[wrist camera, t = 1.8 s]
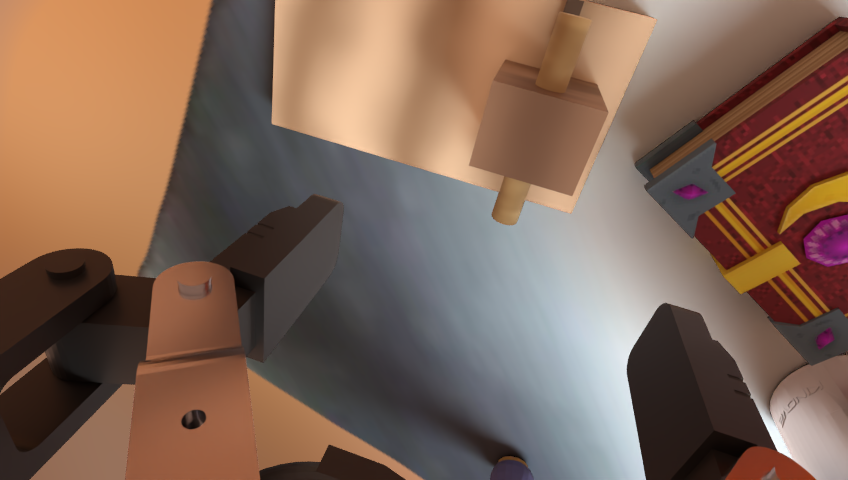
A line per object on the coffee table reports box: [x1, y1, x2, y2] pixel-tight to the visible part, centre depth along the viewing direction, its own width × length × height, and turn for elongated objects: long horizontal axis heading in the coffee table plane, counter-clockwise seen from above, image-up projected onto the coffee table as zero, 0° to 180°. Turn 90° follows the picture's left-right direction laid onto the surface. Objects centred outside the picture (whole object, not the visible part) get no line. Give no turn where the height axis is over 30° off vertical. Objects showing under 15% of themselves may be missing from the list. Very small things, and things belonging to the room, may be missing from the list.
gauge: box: [469, 12, 609, 225], centre depth 23 cm, size 5×10×6 cm, turn 168°
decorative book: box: [635, 17, 848, 366], centre depth 24 cm, size 11×16×5 cm
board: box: [272, 0, 657, 214], centre depth 27 cm, size 20×11×2 cm, turn 78°
